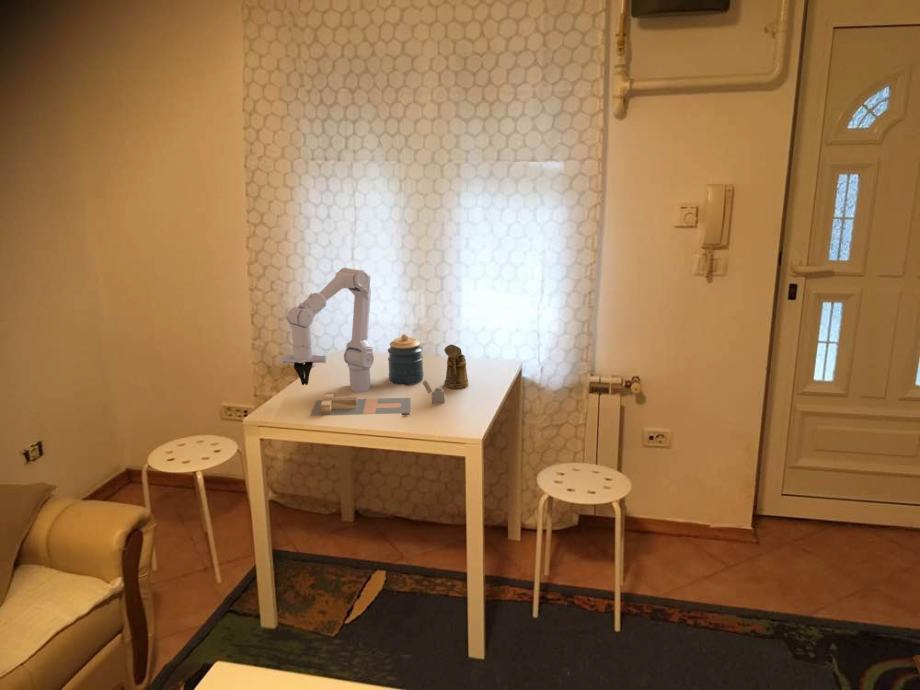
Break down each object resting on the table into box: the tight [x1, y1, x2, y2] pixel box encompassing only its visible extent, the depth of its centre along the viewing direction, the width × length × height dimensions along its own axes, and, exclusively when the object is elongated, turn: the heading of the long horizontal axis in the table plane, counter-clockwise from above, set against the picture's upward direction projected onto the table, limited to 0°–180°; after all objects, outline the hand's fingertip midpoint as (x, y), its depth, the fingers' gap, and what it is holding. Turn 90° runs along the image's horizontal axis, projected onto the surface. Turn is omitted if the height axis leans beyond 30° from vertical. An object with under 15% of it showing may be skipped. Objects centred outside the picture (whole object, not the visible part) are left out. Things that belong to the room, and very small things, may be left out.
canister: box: [387, 333, 425, 386], centre depth 256 cm, size 13×13×18 cm
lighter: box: [422, 380, 445, 405], centre depth 234 cm, size 7×2×8 cm, turn 94°
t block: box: [321, 392, 358, 414], centre depth 229 cm, size 12×11×3 cm
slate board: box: [309, 397, 411, 417], centre depth 230 cm, size 14×32×1 cm, turn 93°
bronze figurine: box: [444, 344, 469, 390], centre depth 247 cm, size 9×14×18 cm, turn 170°
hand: (305, 384), depth 227 cm, fingers closed
